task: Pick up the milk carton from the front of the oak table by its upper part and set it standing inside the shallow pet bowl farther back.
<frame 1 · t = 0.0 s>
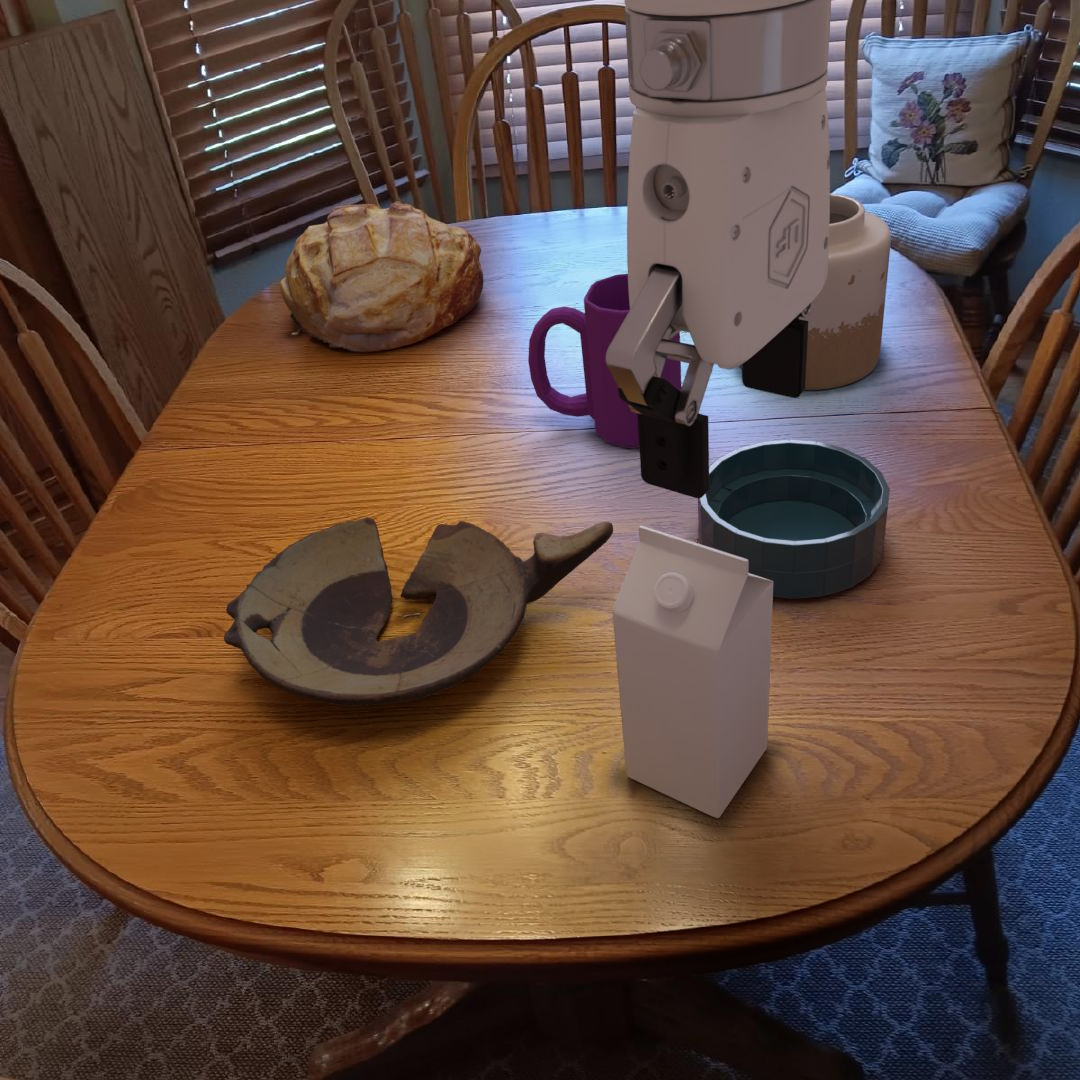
hand: (726, 436, 50), 29 cm above the table, tool pointing down, fingers open, 9 cm apart
tomato: (690, 291, 134), on the table
vase: (807, 359, 116), on the table
mug: (608, 427, 109), on the table
bread: (386, 312, 139), on the table
milk carton: (697, 765, 72), on the table
broken pan: (425, 643, 85), on the table
shallow pet bowl: (789, 546, 89), on the table
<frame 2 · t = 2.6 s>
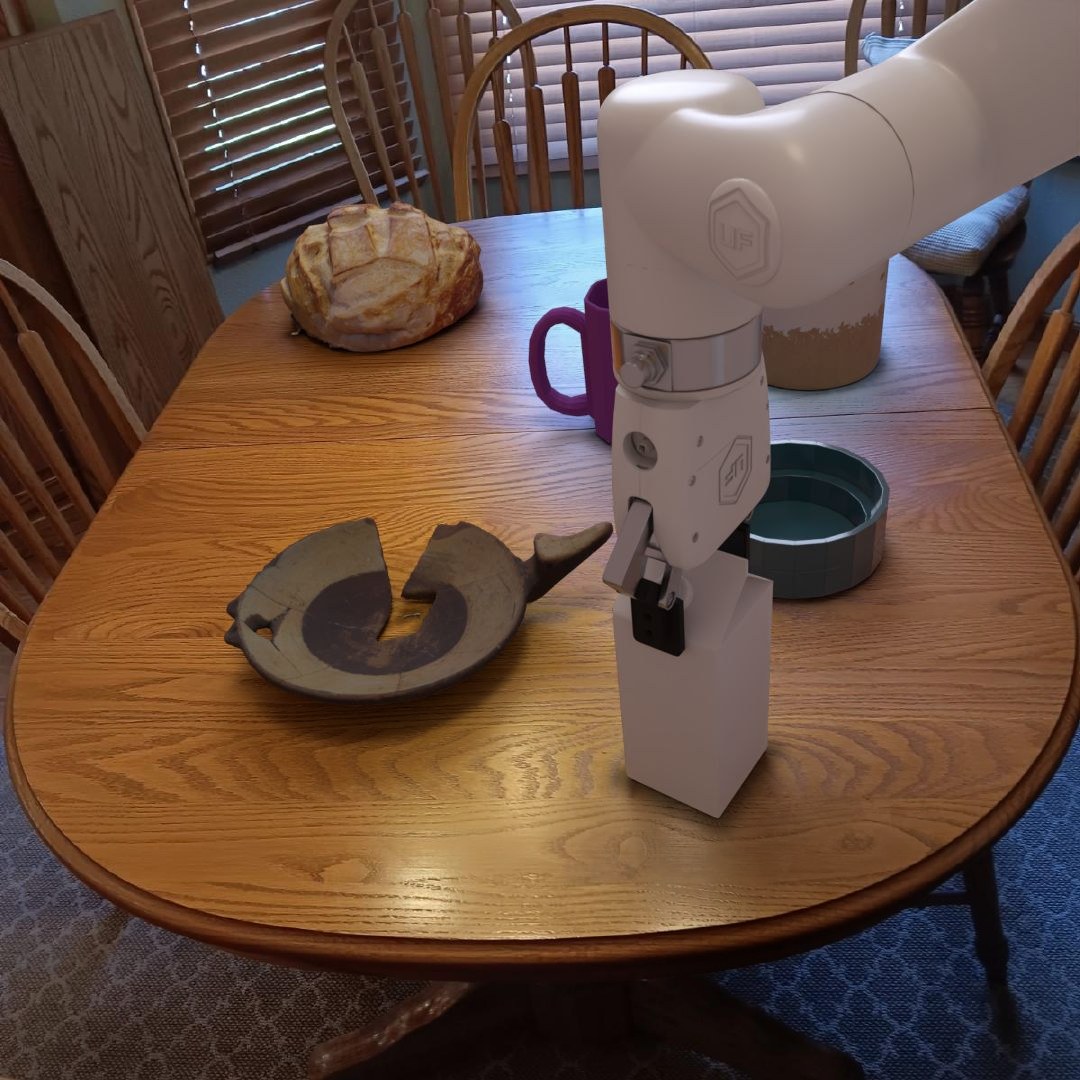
hand: (692, 605, 63), 14 cm above the table, tool pointing down, fingers closed on milk carton, 7 cm apart
milk carton: (697, 765, 72), on the table, touching gripper
everything else where it was.
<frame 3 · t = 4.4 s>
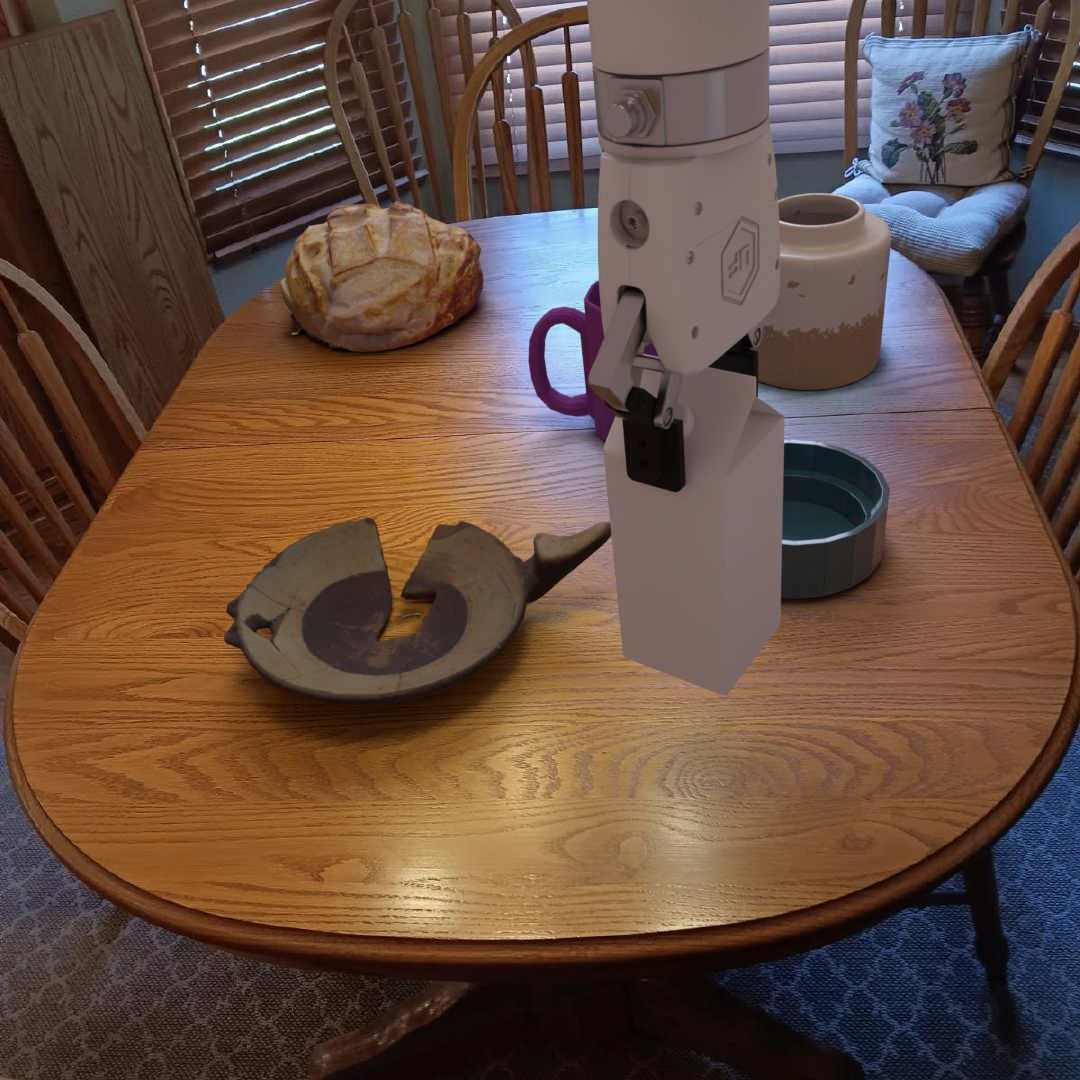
hand: (694, 444, 56), 26 cm above the table, tool pointing down, fingers closed on milk carton, 7 cm apart
milk carton: (702, 645, 64), point 11 cm above the table, touching gripper
everything else where it was.
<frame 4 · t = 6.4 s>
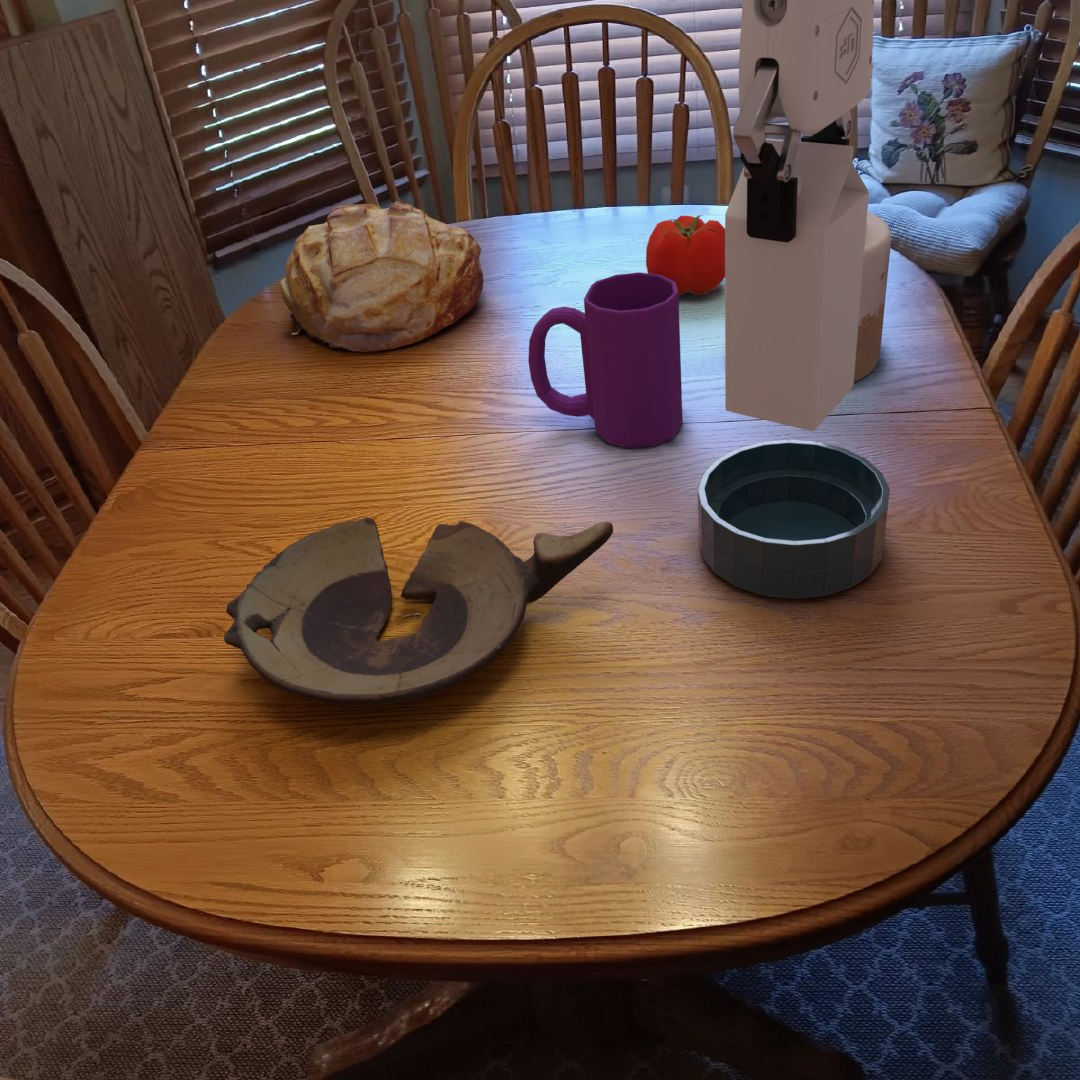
hand: (797, 215, 70), 30 cm above the table, tool pointing down, fingers closed on milk carton, 7 cm apart
milk carton: (789, 403, 79), point 15 cm above the table, touching gripper
everything else where it was.
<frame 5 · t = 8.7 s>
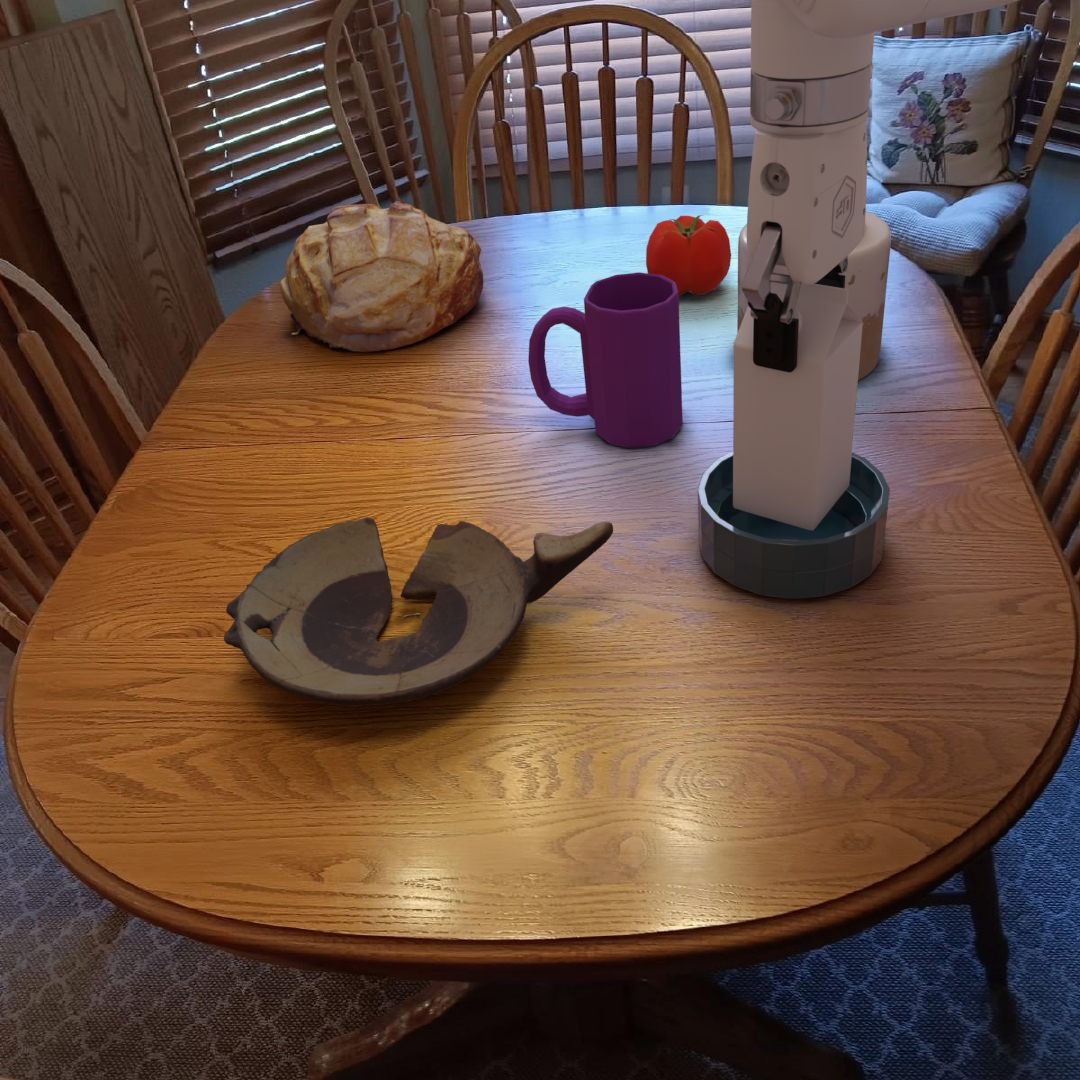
hand: (798, 342, 78), 19 cm above the table, tool pointing down, fingers closed on milk carton, 7 cm apart
milk carton: (791, 500, 87), point 5 cm above the table, touching gripper
everything else where it was.
when the fingers open (15 cm above the table, at t = 10.4 s): milk carton stays where it is, resting on shallow pet bowl.
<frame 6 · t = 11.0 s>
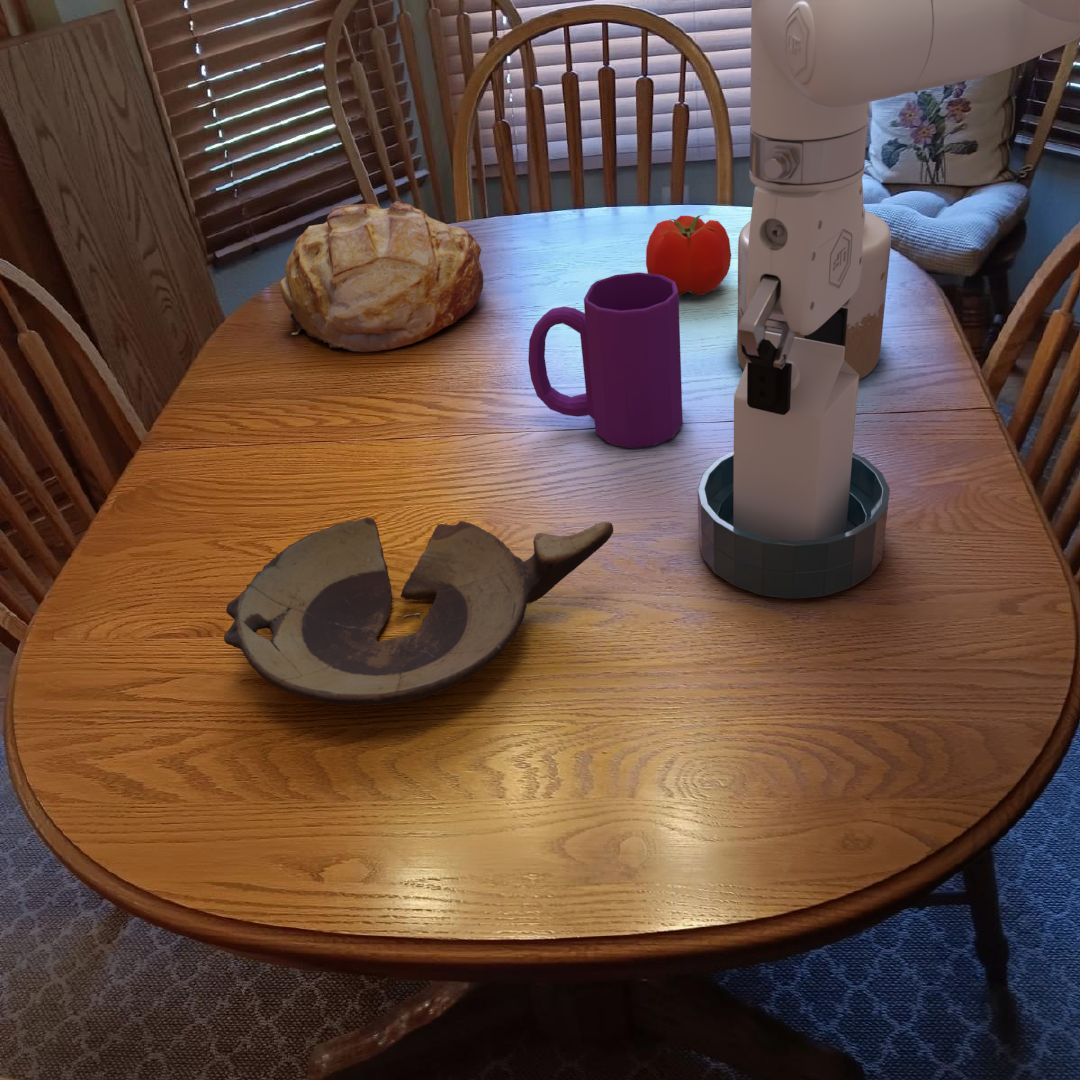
hand: (797, 380, 80), 16 cm above the table, tool pointing down, fingers open, 9 cm apart
milk carton: (789, 543, 89), resting on shallow pet bowl
everything else where it was.
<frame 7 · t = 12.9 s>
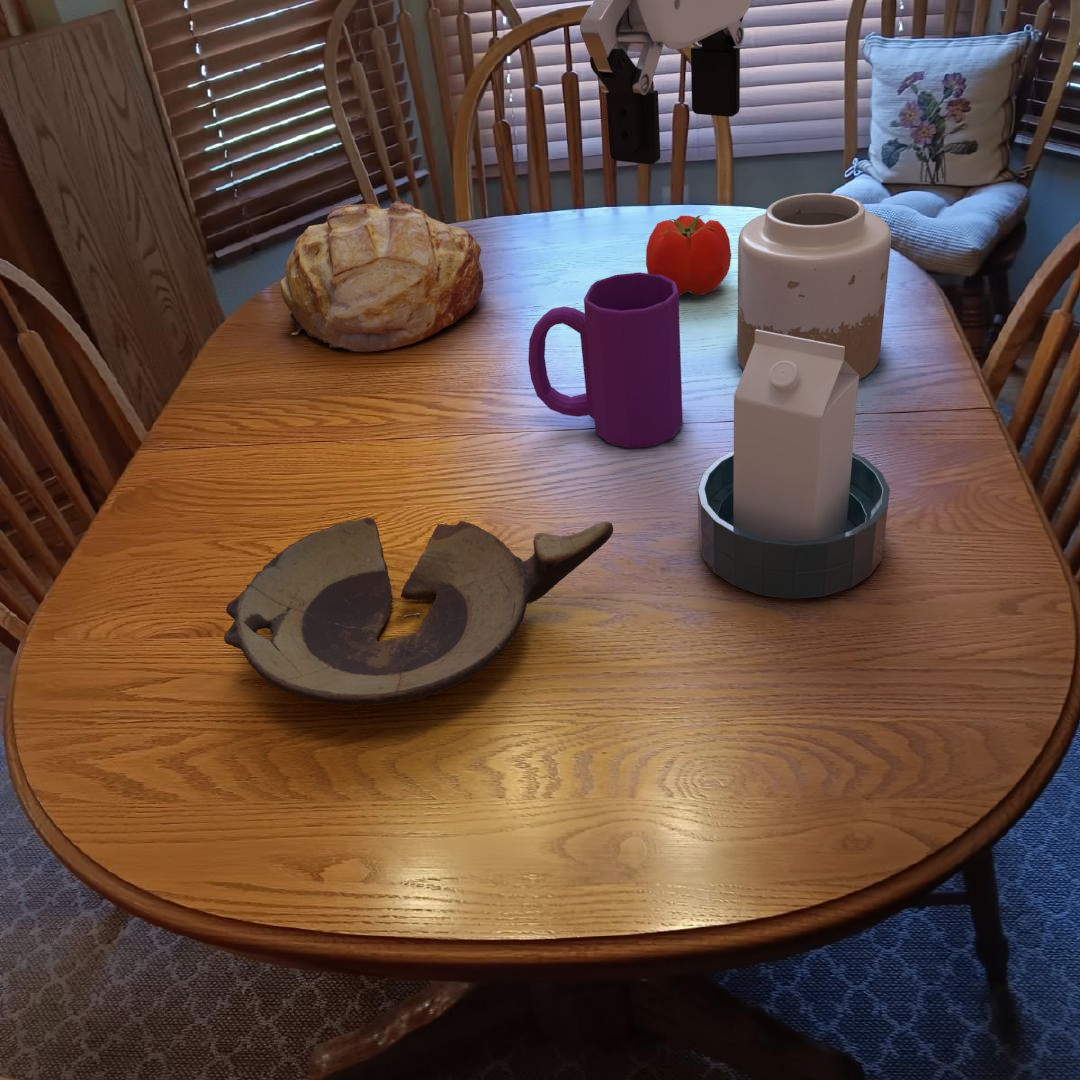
hand: (677, 136, 65), 36 cm above the table, tool pointing down, fingers open, 9 cm apart
nothing on the table moved.
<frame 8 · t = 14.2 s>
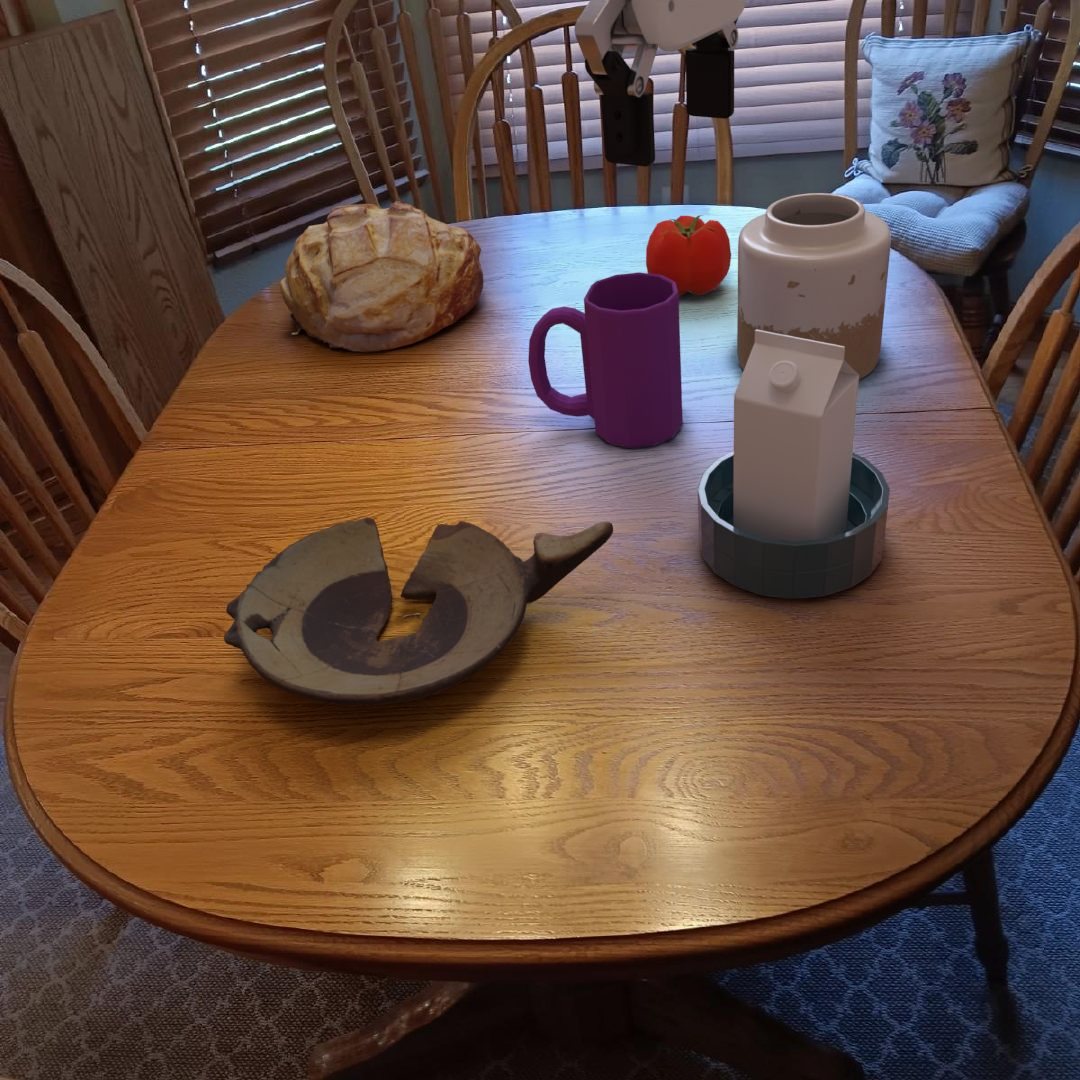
hand: (672, 138, 65), 36 cm above the table, tool pointing down, fingers open, 9 cm apart
nothing on the table moved.
at the end: milk carton inside the target area in the shallow pet bowl (0.1 cm from its centre), point 0.4 cm above the shallow pet bowl's base; milk carton tilted 0°; the gripper is holding nothing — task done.
